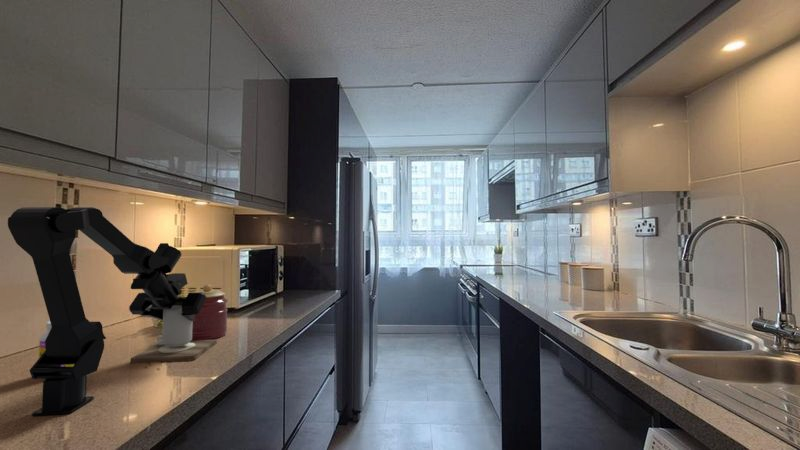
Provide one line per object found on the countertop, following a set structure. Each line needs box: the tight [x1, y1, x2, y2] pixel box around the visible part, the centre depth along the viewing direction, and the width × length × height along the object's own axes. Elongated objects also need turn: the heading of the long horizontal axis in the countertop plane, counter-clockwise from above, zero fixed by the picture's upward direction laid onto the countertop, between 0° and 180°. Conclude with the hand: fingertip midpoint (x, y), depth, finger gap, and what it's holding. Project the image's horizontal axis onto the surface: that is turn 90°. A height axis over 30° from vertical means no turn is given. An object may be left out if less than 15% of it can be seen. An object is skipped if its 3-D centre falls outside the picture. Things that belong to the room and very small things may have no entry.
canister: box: [191, 283, 229, 341], centre depth 121 cm, size 13×13×18 cm
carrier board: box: [130, 337, 218, 364], centre depth 103 cm, size 16×16×3 cm
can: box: [161, 306, 193, 347], centre depth 103 cm, size 8×8×12 cm
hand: (180, 319), depth 104 cm, fingers closed on can, 7 cm apart
